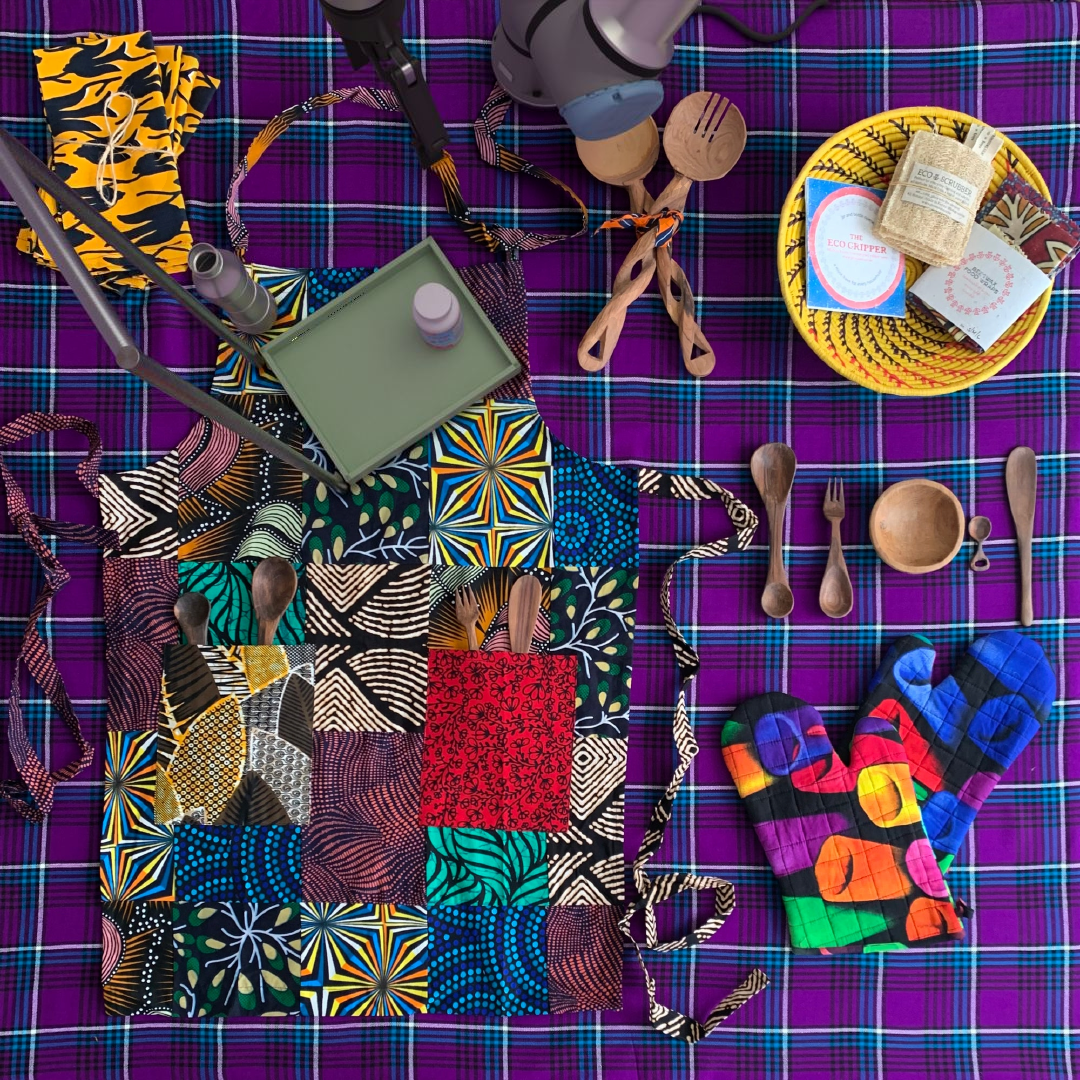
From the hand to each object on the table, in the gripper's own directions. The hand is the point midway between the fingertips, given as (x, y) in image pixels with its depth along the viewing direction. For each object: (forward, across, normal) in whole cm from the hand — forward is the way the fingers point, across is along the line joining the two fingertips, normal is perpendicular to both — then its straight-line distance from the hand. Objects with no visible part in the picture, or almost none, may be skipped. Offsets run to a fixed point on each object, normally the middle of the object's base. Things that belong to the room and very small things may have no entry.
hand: (397, 111), depth 99 cm
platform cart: (+27, +14, -16) cm, 34 cm away
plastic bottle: (+27, -2, -27) cm, 38 cm away
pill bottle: (+26, +14, -7) cm, 31 cm away
